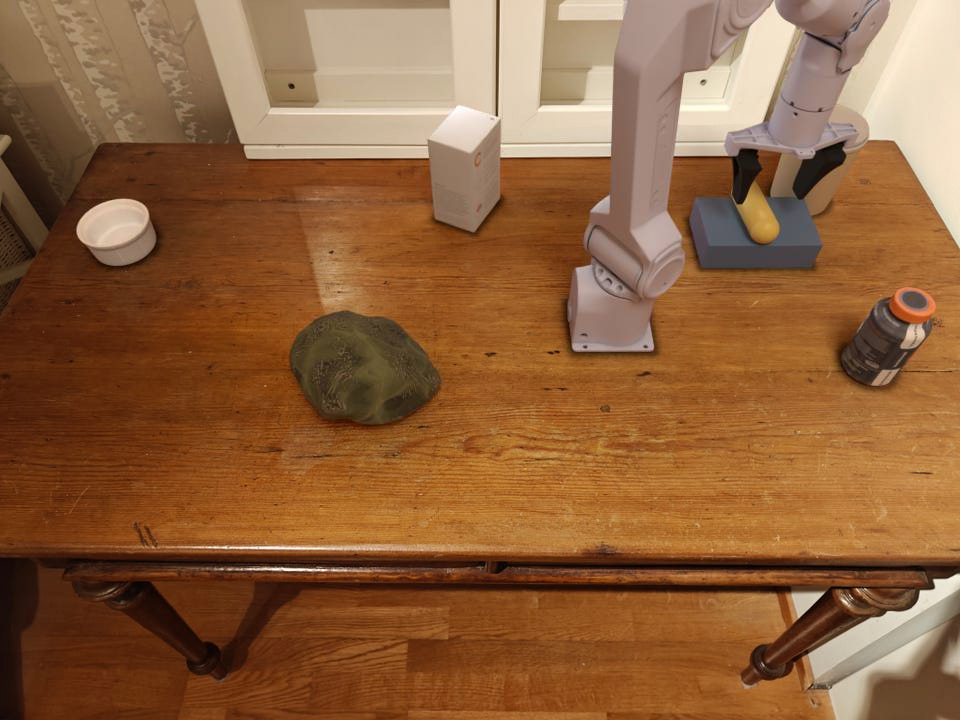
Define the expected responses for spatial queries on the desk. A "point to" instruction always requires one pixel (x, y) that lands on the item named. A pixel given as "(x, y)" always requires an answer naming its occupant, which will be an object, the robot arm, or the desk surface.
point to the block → (733, 247)
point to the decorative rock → (362, 368)
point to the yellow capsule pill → (758, 216)
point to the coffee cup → (832, 181)
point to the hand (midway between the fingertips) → (767, 196)
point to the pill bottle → (889, 336)
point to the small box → (465, 167)
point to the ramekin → (117, 232)
